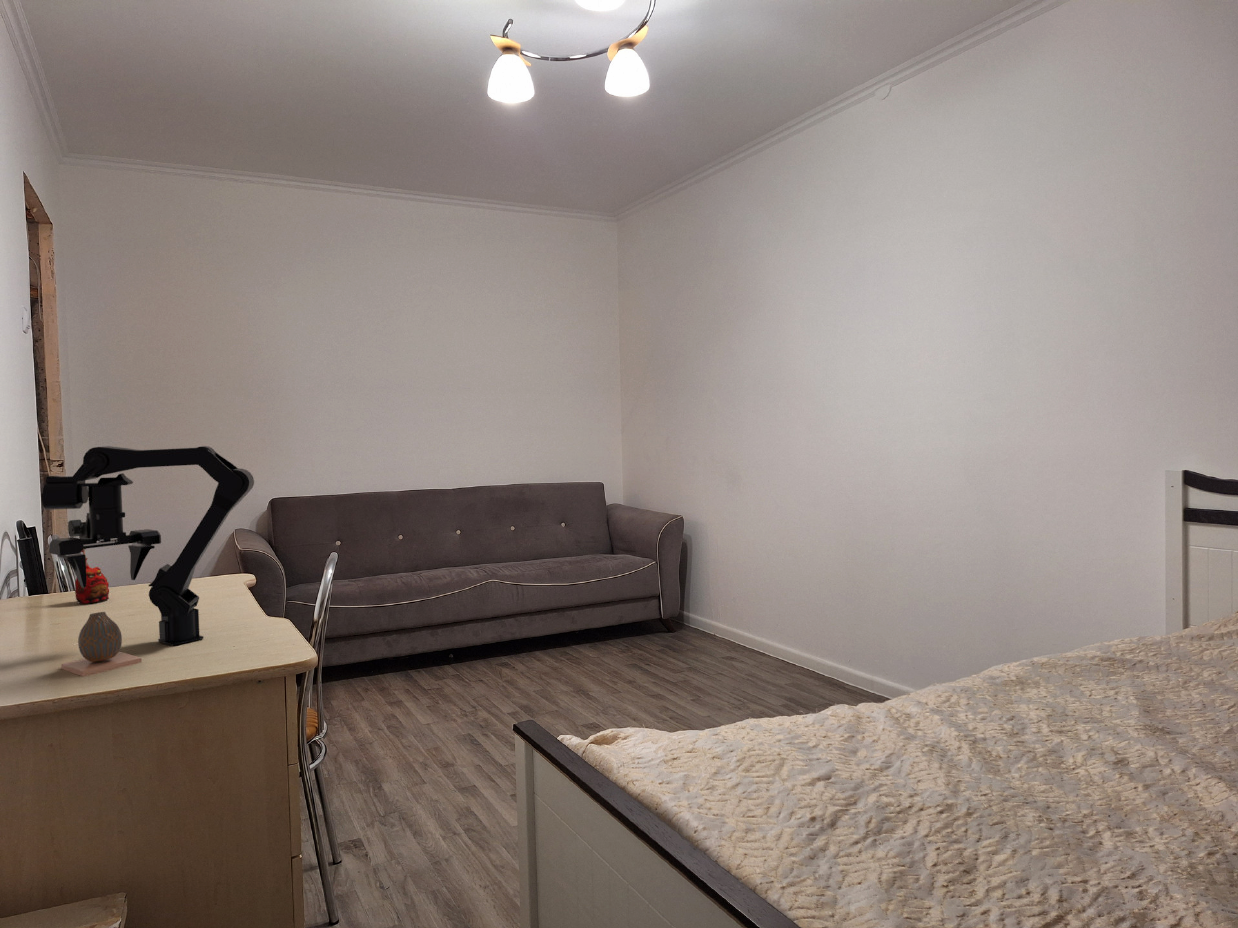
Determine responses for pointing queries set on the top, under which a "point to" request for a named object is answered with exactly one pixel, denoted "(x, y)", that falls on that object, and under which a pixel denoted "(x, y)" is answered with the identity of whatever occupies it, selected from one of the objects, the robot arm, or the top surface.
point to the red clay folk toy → (92, 586)
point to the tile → (100, 664)
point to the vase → (99, 638)
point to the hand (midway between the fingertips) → (109, 583)
